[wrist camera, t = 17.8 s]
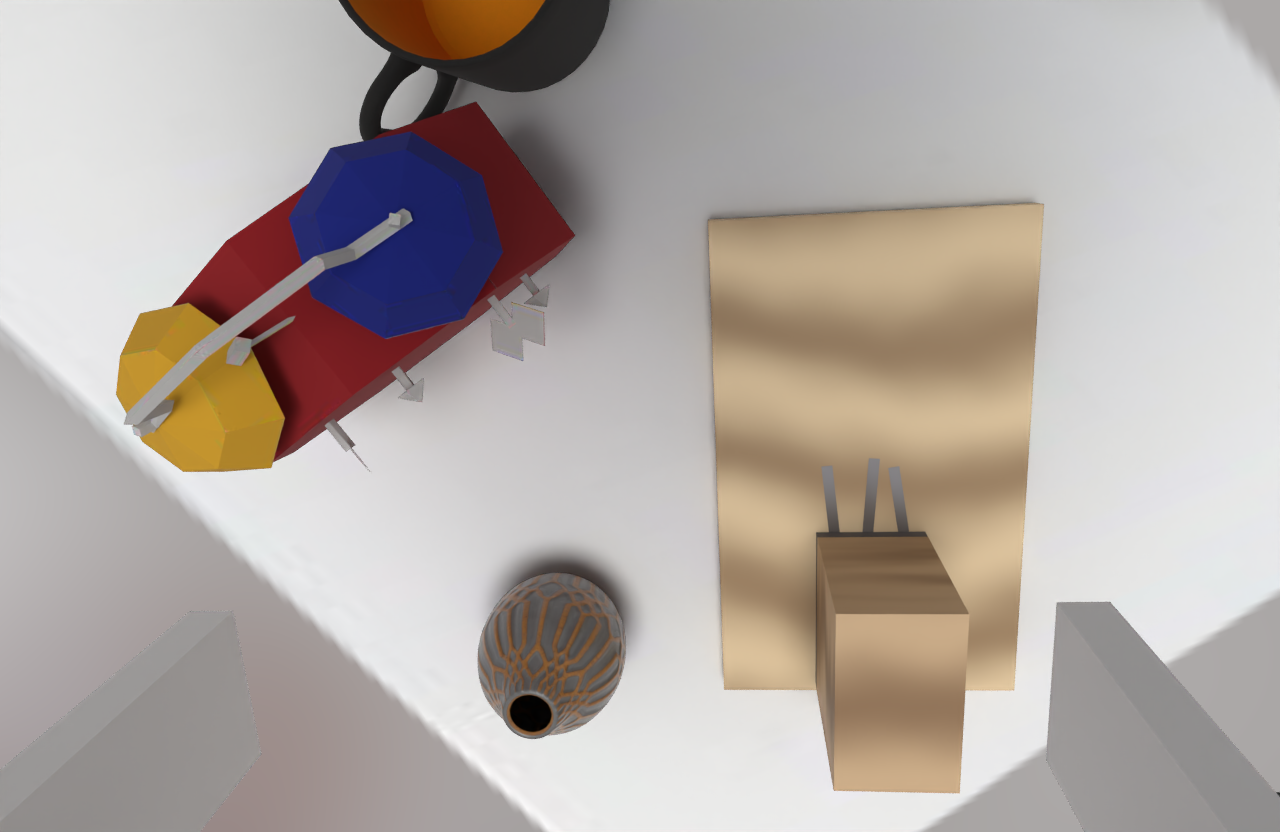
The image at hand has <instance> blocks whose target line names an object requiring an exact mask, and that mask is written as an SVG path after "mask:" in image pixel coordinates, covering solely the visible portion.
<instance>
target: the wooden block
mask: <svg viewBox="0 0 1280 832" xmlns="http://www.w3.org/2000/svg"><path fill="white" fill-rule="evenodd" d="M968 632H969V612H968V611H967V609H966V607H965V605H964V603H963V601H962V599H961V598H960V596H959V594H958V592H957V590H956V588H955V586H954V584H953V583H952V581H951V579H950V577H949V575H948V573H947V571H946V569H945V568H944V566H943V564H942V562H941V560H940V558H939V556H938V554H937V553H936V551H935V549H934V547H933V545H932V543H931V541H930V540H929V538H928V536H927V534H926V532H816V671H815V683H816V689H817V695H818V701H819V706H820V712H821V718H822V724H823V730H824V736H825V742H826V748H827V754H828V760H829V765H830V771H831V777H832V783H833V789H834V791H875V792H923V793H960V776H961V758H962V740H963V722H964V704H965V686H966V668H967V650H968Z"/></svg>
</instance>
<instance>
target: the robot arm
mask: <svg viewBox="0 0 1280 832" xmlns="http://www.w3.org/2000/svg"><path fill="white" fill-rule="evenodd" d="M260 755H261V750H260V745H259V739H258V734H257V729H256V725H255V719H254V715H253V709H252V704H251V699H250V694H249V689H248V684H247V679H246V674H245V669H244V663H243V659H242V653H241V648H240V643H239V638H238V634H237V628H236V623H235V618H234V613H233V611H190V612H188V613H187V614H186V615H185V616H184V617H182V618H181V619H180V620H179V621H178V622H176V623H175V624H174V625H173V626H172V627H170V628H169V629H168V630H167V631H166V632H164V633H163V634H162V635H161V636H160V637H158V638H157V639H156V640H155V641H154V642H152V643H151V644H150V645H149V646H148V647H146V648H145V649H144V650H143V651H142V652H140V653H139V654H138V655H137V656H136V657H134V658H133V659H132V660H131V661H130V662H128V663H127V664H126V665H125V666H124V667H122V668H121V669H120V670H119V671H118V672H116V673H115V674H114V675H113V676H112V677H111V678H109V679H108V680H107V681H106V682H104V683H103V684H102V685H101V686H100V687H99V688H97V689H96V690H95V691H94V692H92V693H91V694H90V695H89V696H88V697H86V698H85V699H84V700H83V701H82V702H80V703H79V704H78V705H77V706H76V707H74V708H73V709H72V710H71V711H70V712H68V713H67V714H66V715H65V716H64V717H63V718H61V719H60V720H59V721H58V722H56V723H55V724H54V725H53V726H52V727H51V728H49V729H48V730H47V731H46V732H44V733H43V734H42V735H41V736H40V737H39V738H37V739H36V740H35V741H34V742H32V743H31V744H30V745H29V746H28V747H26V748H25V749H24V750H23V751H22V752H20V753H19V754H18V755H17V756H16V757H14V758H13V759H12V760H11V761H10V762H9V763H7V764H6V765H5V766H4V767H2V768H1V769H0V832H200V831H201V830H202V829H203V828H204V826H205V825H206V824H207V823H208V821H209V820H210V819H211V817H212V816H213V815H214V814H215V812H216V811H217V810H218V809H219V807H220V806H221V805H222V803H223V802H224V801H225V800H226V798H227V797H228V796H229V795H230V793H231V792H232V791H233V790H234V788H235V787H236V786H237V784H238V783H239V782H240V781H241V779H242V778H243V777H244V776H245V774H246V773H247V772H248V770H249V769H250V768H251V767H252V765H253V764H254V763H255V762H256V760H257V759H258V758H259V757H260ZM1046 761H1047V763H1048V765H1049V767H1050V769H1051V770H1052V772H1053V774H1054V776H1055V778H1056V780H1057V782H1058V784H1059V785H1060V787H1061V789H1062V791H1063V793H1064V795H1065V797H1066V798H1067V800H1068V802H1069V804H1070V806H1071V808H1072V810H1073V812H1074V814H1075V815H1076V817H1077V819H1078V821H1079V823H1080V825H1081V827H1082V829H1083V830H1084V832H1280V793H1279V792H1275V791H1274V790H1273V789H1272V788H1271V786H1270V785H1269V784H1268V783H1267V782H1266V781H1265V779H1264V778H1263V777H1262V776H1261V775H1260V774H1259V772H1258V771H1257V770H1256V769H1255V768H1254V767H1253V766H1252V764H1250V762H1249V761H1248V760H1247V759H1246V758H1245V756H1244V755H1243V754H1242V753H1241V752H1240V751H1239V749H1238V748H1237V747H1236V746H1235V745H1234V744H1233V743H1232V742H1231V741H1230V739H1229V738H1228V737H1227V736H1226V735H1225V733H1224V732H1223V731H1222V730H1221V729H1220V728H1219V726H1218V725H1217V724H1216V723H1215V722H1214V721H1213V720H1212V718H1211V717H1210V716H1209V715H1208V714H1207V713H1206V712H1205V710H1204V709H1203V708H1202V707H1201V706H1200V705H1199V704H1198V702H1197V701H1196V700H1195V699H1194V698H1193V697H1192V695H1191V694H1190V693H1189V692H1188V691H1187V690H1186V689H1185V687H1184V686H1183V685H1182V684H1181V683H1180V682H1179V681H1178V679H1177V678H1176V677H1175V676H1174V675H1173V674H1172V673H1171V671H1170V670H1169V669H1168V668H1167V667H1166V666H1165V664H1164V663H1163V662H1162V661H1161V660H1160V659H1159V658H1158V656H1157V655H1156V654H1155V653H1154V652H1153V651H1152V650H1151V648H1150V647H1149V646H1148V645H1147V644H1146V643H1145V641H1144V640H1143V639H1142V638H1141V637H1140V636H1139V635H1138V633H1137V632H1136V631H1135V630H1134V629H1133V628H1132V627H1131V625H1130V624H1129V623H1128V622H1127V621H1126V620H1125V618H1124V617H1123V616H1122V615H1121V614H1120V613H1119V612H1118V610H1117V609H1116V608H1115V607H1114V606H1113V605H1112V604H1111V602H1057V607H1056V621H1055V636H1054V650H1053V665H1052V680H1051V694H1050V709H1049V723H1048V738H1047V753H1046Z"/></svg>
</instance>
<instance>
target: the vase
mask: <svg viewBox="0 0 1280 832" xmlns="http://www.w3.org/2000/svg"><path fill="white" fill-rule="evenodd" d="M625 655H626V638H625V632H624V628H623V624H622V621H621V618H620V616H619V613H618V611H617V609H616V607H615V606H614V604H613V602H612V601H611V600H610V598H609V597H608V596H607V595H606V594H605V593H604V592H603V591H602V590H601V589H600V588H599V587H598V586H596V585H595V584H593V583H592V582H590V581H588V580H586V579H584V578H582V577H579V576H576V575H572V574H567V573H548V574H543V575H538V576H535V577H532V578H530V579H528V580H526V581H524V582H522V583H520V584H518V585H517V586H515V587H514V588H513V589H511V590H510V591H509V592H508V593H507V594H506V595H504V596H503V598H502V599H501V600H500V601H499V602H498V604H497V605H496V606H495V608H494V609H493V611H492V612H491V614H490V616H489V617H488V619H487V621H486V624H485V626H484V628H483V631H482V634H481V637H480V642H479V647H478V673H479V679H480V683H481V687H482V690H483V692H484V695H485V697H486V699H487V700H488V702H489V704H490V705H491V707H492V708H493V709H494V711H495V712H496V713H497V714H498V715H499V716H500V717H501V718H502V719H503V720H504V721H505V723H506V725H507V726H508V727H509V729H510V730H511V731H513V732H514V733H515V734H517V735H519V736H521V737H524V738H528V739H538V738H542V737H545V736H547V735H558V734H563V733H566V732H570V731H572V730H575V729H577V728H579V727H581V726H583V725H584V724H586V723H587V722H589V721H590V720H591V719H593V718H594V717H595V716H596V715H597V714H598V713H599V712H600V711H601V710H602V709H603V708H604V707H605V705H606V704H607V703H608V702H609V700H610V699H611V697H612V696H613V694H614V692H615V690H616V688H617V686H618V684H619V682H620V679H621V676H622V672H623V668H624V663H625Z"/></svg>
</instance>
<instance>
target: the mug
mask: <svg viewBox="0 0 1280 832" xmlns="http://www.w3.org/2000/svg"><path fill="white" fill-rule="evenodd" d="M339 1H340V3H341V5H342V6H343V8H344V9H345V11H346V12H347V14H348V15H349V17H350V18H351V19H352V20H353V21H354V22H355V23H356V24H357V26H358V27H359V28H360V29H361V30H362V31H363V32H364V33H365V34H366V35H367V36H368V37H370V38H371V39H372V40H373V41H375V42H376V43H377V44H378V45H380V46H381V47H382V48H384V49H386V50H388V51H389V52H391V54H390V57H389V59H388V61H387V62H386V64H385V66H384V67H383V69H382V70H381V72H380V73H379V75H378V76H377V78H376V79H375V80H374V82H373V83H372V85H371V87H370V88H369V90H368V92H367V94H366V97H365V99H364V102H363V105H362V108H361V112H360V119H359V126H360V133H361V136H362V139H363V140H364V141H367V140H372V139H374V138H375V137H377V136H378V135H380V134H382V133H385V132H388V131H391V129H383V128H381V116H382V112H383V109H384V107H385V105H386V103H387V101H388V99H389V97H390V96H391V94H392V93H393V92H394V90H395V89H396V88H397V86H398V85H399V84H400V83H401V82H402V81H403V80H404V79H405V78H406V77H408V76H409V75H411V74H412V73H414V72H416V71H417V70H419V69H420V67H421V66H425V67H428V68H431V69H434V70H436V71H437V74H438V80H437V84H436V87H435V89H434V91H433V94H432V96H431V98H430V100H429V101H428V103H427V105H426V106H425V108H424V110H423V111H422V112H421V114H420V115H419V116H418V118H417V119H416V120H415V121H414V122H413V123H415V122H418V121H421V120H424V119H427V118H430V117H432V116H435V115H438V114H441V113H442V112H443V111H444V109H445V107H446V105H447V103H448V101H449V99H450V97H451V94H452V92H453V89H454V87H455V84H456V81H457V79H458V77H459V78H462V79H465V80H468V81H471V82H474V83H477V84H480V85H483V86H486V87H489V88H492V89H495V90H501V91H508V92H528V91H533V90H537V89H541V88H545V87H547V86H550V85H552V84H554V83H556V82H559V81H560V80H562V79H563V78H565V77H566V76H568V75H569V74H571V73H572V72H573V71H575V70H576V69H577V68H578V67H579V66H580V65H581V64H582V63H583V62H584V61H585V60H586V58H587V57H588V55H589V54H590V53H591V51H592V50H593V48H594V47H595V45H596V43H597V41H598V39H599V37H600V35H601V33H602V31H603V29H604V25H605V22H606V18H607V15H608V11H609V2H610V0H339ZM411 124H412V123H411Z"/></svg>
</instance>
